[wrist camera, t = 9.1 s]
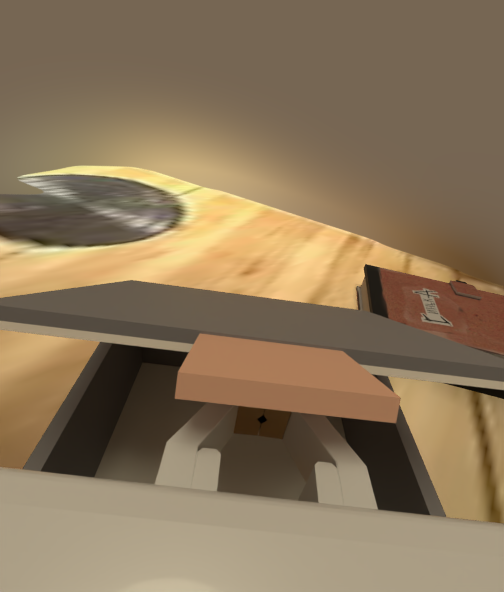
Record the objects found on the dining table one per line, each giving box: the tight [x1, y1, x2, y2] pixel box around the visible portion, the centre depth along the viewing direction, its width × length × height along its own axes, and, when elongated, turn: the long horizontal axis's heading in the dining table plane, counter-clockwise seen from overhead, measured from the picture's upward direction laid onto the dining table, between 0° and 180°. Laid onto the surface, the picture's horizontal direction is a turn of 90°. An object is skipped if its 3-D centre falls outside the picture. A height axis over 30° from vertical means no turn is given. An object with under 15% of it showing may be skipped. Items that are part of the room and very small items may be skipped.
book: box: [356, 264, 504, 399], centre depth 39 cm, size 26×18×5 cm
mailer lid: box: [0, 280, 504, 423], centre depth 17 cm, size 20×20×1 cm
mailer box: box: [23, 342, 446, 517], centre depth 23 cm, size 20×16×8 cm
